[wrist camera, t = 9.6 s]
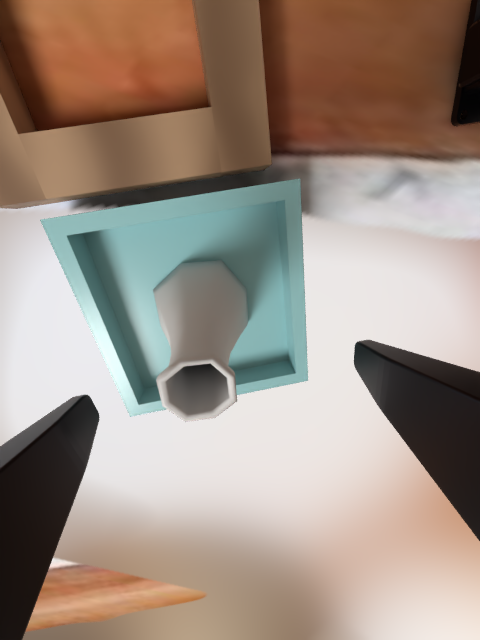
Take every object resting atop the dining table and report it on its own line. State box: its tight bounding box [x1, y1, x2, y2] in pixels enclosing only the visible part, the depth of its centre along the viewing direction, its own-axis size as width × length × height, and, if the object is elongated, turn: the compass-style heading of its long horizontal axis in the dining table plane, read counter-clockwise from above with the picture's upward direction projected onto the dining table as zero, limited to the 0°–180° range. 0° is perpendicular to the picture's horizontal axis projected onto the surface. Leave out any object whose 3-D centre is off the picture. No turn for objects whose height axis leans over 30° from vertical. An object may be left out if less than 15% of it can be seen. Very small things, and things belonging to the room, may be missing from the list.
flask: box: [153, 260, 248, 422], centre depth 14 cm, size 7×7×10 cm
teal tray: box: [40, 179, 308, 417], centre depth 18 cm, size 15×15×2 cm
